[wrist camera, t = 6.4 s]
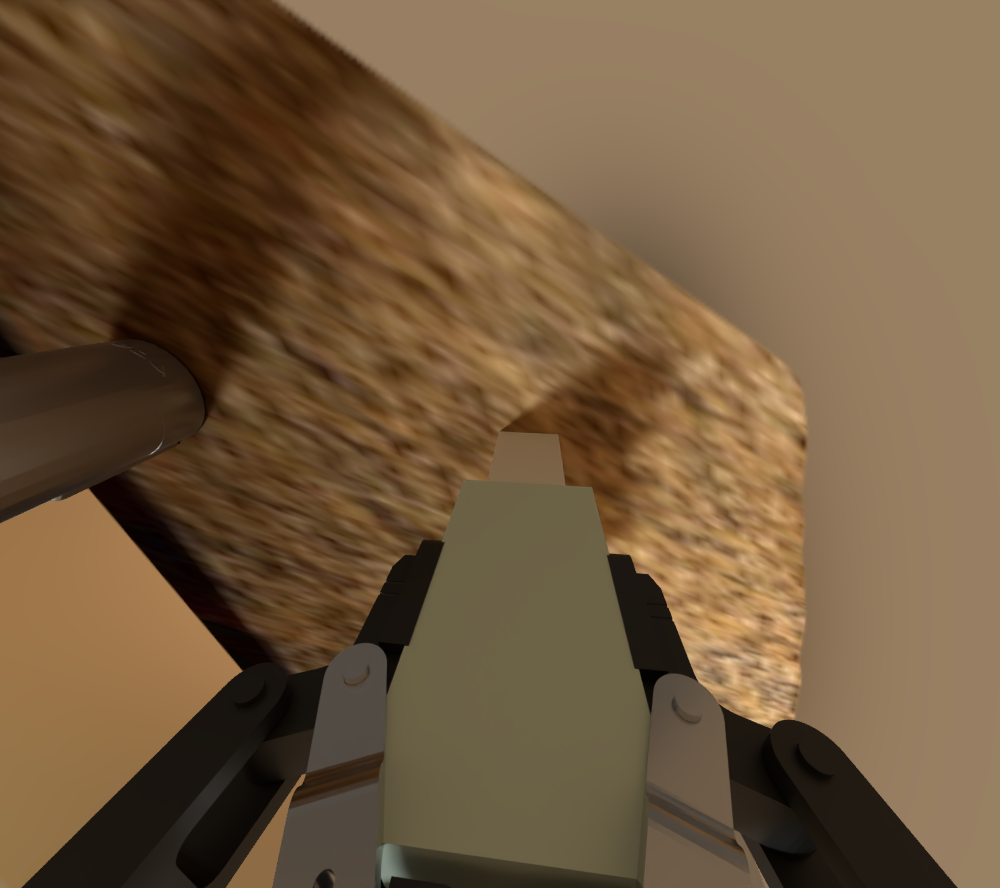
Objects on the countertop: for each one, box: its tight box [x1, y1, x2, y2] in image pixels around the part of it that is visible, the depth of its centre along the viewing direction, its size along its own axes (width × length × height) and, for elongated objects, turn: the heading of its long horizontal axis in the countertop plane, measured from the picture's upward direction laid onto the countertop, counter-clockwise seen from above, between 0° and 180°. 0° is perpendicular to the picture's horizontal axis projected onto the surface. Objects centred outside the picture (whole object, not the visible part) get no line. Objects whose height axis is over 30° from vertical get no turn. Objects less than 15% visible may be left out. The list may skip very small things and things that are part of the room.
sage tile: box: [381, 480, 650, 888], centre depth 10 cm, size 2×5×10 cm, turn 89°
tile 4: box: [488, 431, 565, 485], centre depth 26 cm, size 2×5×10 cm, turn 89°
